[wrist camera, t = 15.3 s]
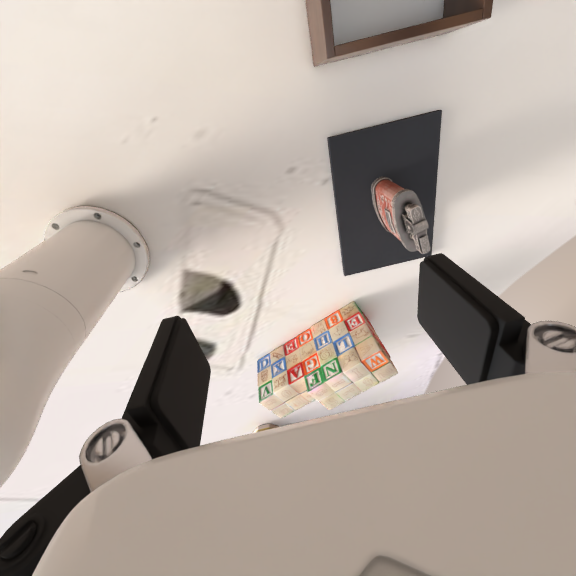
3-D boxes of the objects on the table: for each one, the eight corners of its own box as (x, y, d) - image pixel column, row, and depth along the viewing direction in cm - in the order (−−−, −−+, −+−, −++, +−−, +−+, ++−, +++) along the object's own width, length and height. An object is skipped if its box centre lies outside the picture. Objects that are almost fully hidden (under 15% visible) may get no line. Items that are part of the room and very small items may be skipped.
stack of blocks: (276, 376, 58) (282, 436, 47) (256, 359, 55) (257, 419, 44) (370, 321, 53) (400, 374, 42) (354, 299, 50) (381, 351, 39)
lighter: (366, 183, 39) (398, 206, 30) (390, 171, 38) (429, 190, 30) (382, 234, 43) (414, 265, 34) (404, 223, 42) (442, 252, 34)
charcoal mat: (343, 274, 47) (344, 276, 46) (327, 137, 36) (328, 138, 35) (429, 253, 46) (431, 255, 46) (439, 110, 35) (442, 110, 35)
